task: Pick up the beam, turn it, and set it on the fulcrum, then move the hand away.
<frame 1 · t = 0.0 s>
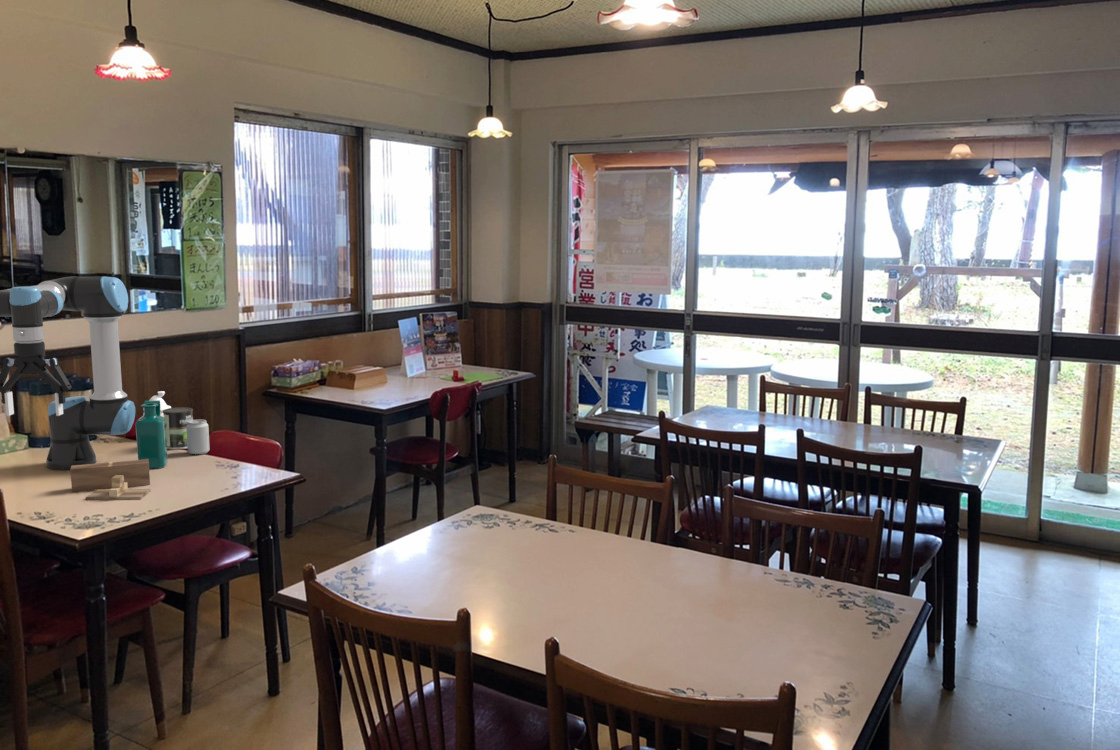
hand: (35, 414, 255), 28 cm above the table, fingers open, 13 cm apart
beam: (111, 487, 282), on the table
green bottle: (153, 465, 307), on the table
can: (198, 453, 325), on the table
coffee can: (179, 446, 333), on the table
fulcrum: (118, 495, 273), on the table
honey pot: (158, 437, 347), on the table
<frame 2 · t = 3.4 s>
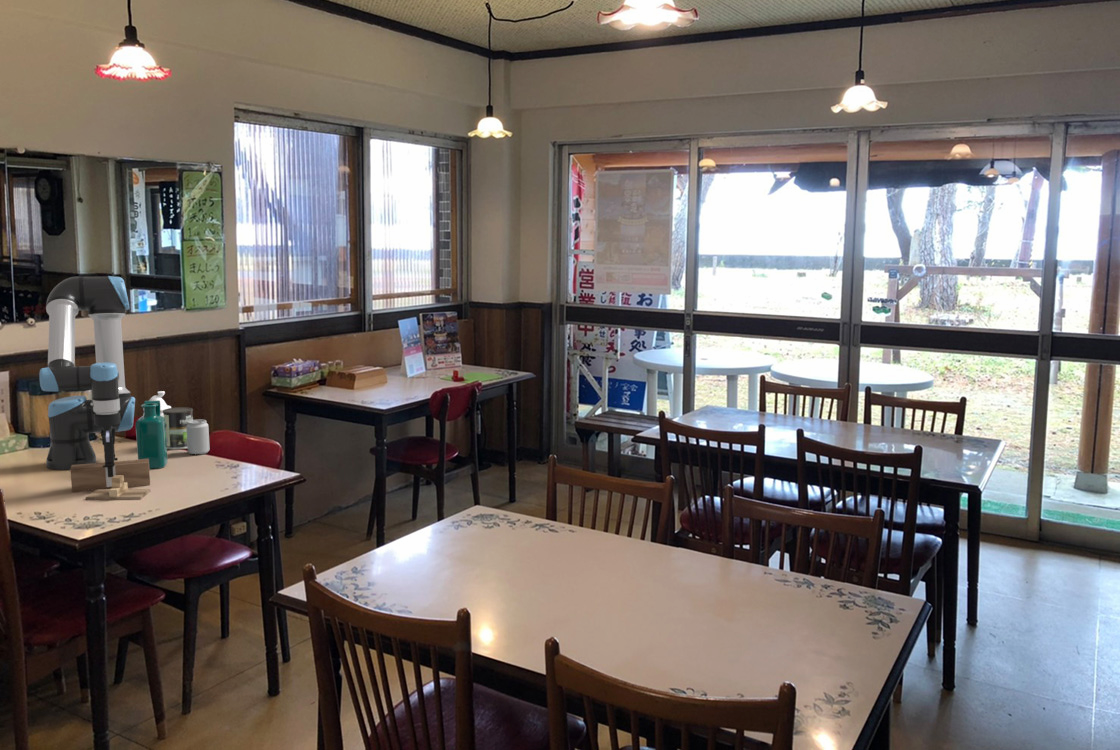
hand: (111, 483, 282), 1 cm above the table, fingers closed on beam, 5 cm apart
beam: (112, 486, 282), on the table, touching gripper
everything else where it was.
when the fingers open (8 cm above the table, at t = 6.8 s): beam stays where it is, resting on fulcrum.
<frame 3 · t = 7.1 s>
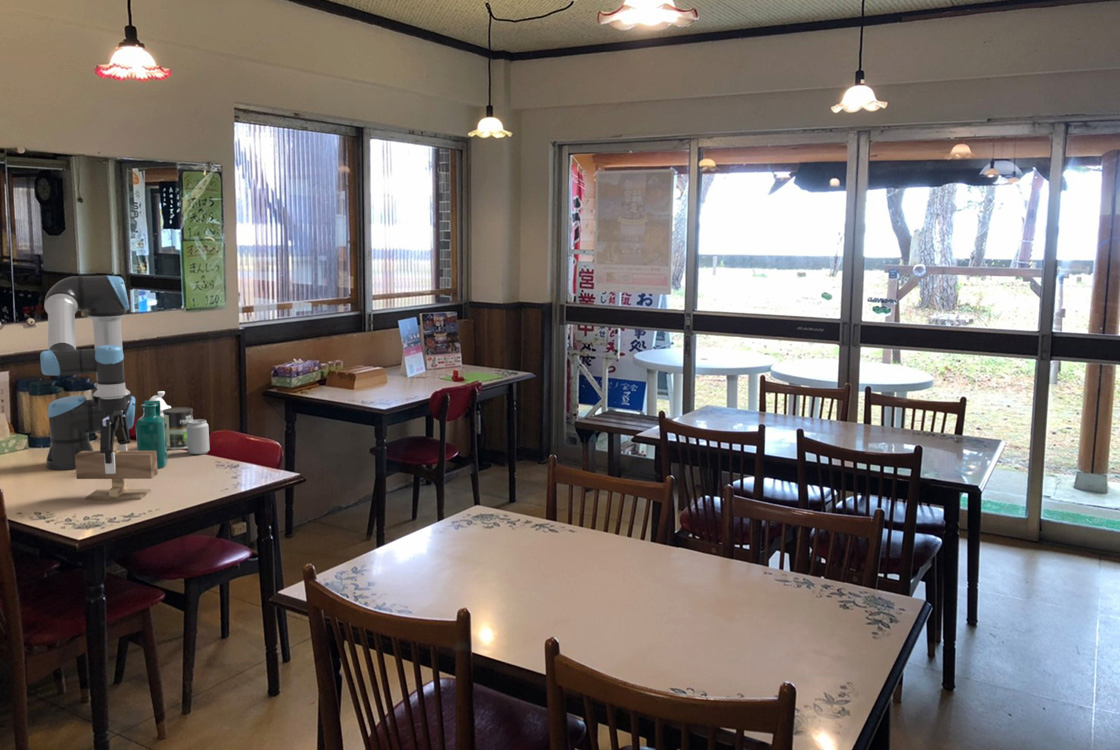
hand: (117, 469, 271), 8 cm above the table, fingers open, 9 cm apart
beam: (117, 476, 272), point 6 cm above the table, touching fulcrum
everything else where it was.
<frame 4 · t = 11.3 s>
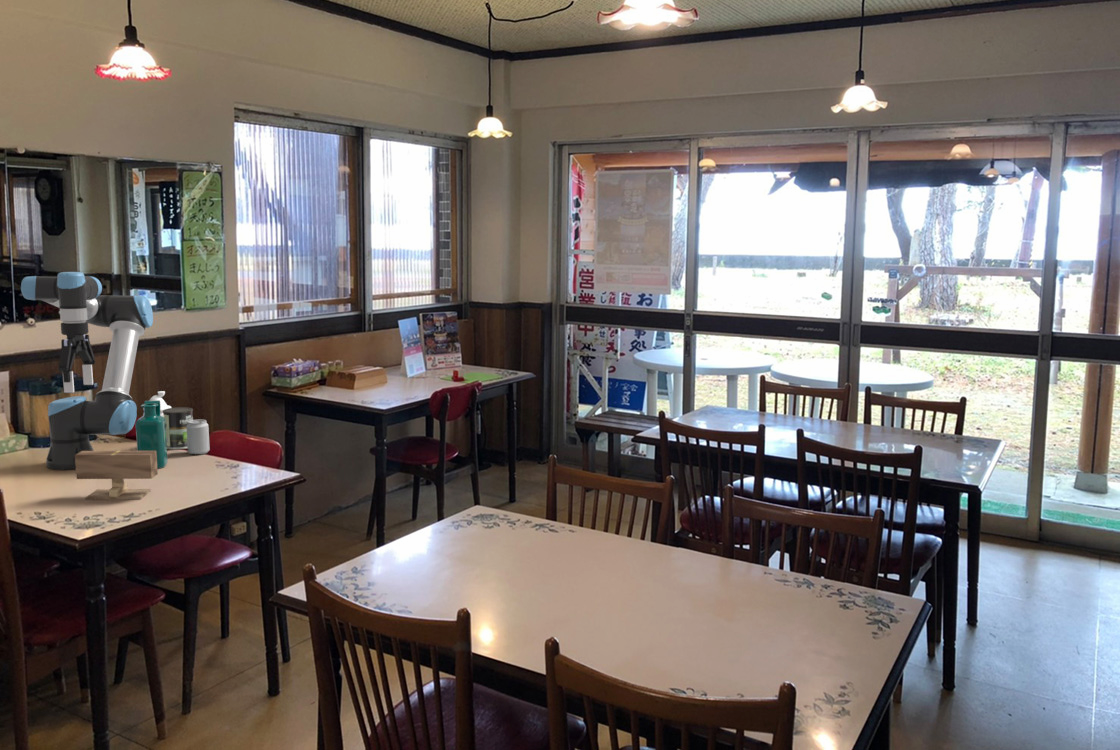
hand: (79, 388, 281), 31 cm above the table, fingers open, 13 cm apart
nothing on the table moved.
at the end: beam 0.1 cm off-centre on the fulcrum, point 6.0 cm above the fulcrum's base; beam tilted 0°; the gripper is holding nothing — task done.
